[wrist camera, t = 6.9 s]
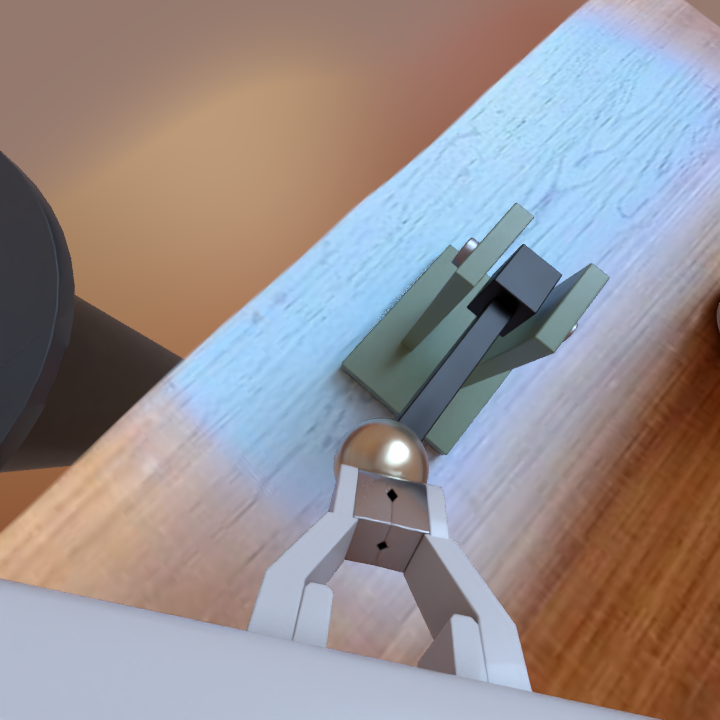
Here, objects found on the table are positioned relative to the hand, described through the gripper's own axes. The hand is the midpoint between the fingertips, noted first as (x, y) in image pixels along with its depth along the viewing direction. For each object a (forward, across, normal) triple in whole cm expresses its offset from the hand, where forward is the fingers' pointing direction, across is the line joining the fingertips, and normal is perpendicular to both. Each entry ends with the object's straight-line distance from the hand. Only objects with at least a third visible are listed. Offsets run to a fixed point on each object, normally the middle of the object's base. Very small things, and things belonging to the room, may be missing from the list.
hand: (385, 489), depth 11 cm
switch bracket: (+16, -4, +3) cm, 17 cm away
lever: (+6, -2, 0) cm, 7 cm away
